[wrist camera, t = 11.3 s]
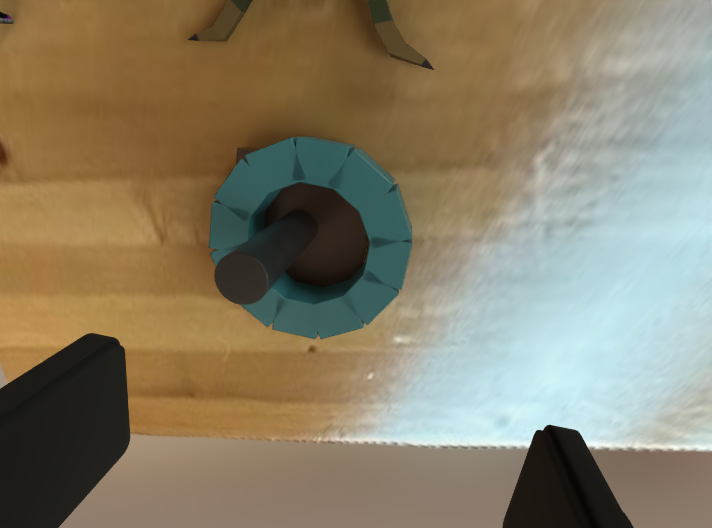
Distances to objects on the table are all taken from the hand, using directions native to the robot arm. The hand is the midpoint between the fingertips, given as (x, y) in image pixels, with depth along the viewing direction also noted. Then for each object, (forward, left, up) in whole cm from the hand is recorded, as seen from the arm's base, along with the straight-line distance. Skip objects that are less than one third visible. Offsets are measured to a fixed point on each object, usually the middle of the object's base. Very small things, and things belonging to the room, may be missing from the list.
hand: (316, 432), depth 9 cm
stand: (+5, 0, -20) cm, 20 cm away
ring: (+4, +1, -18) cm, 19 cm away
